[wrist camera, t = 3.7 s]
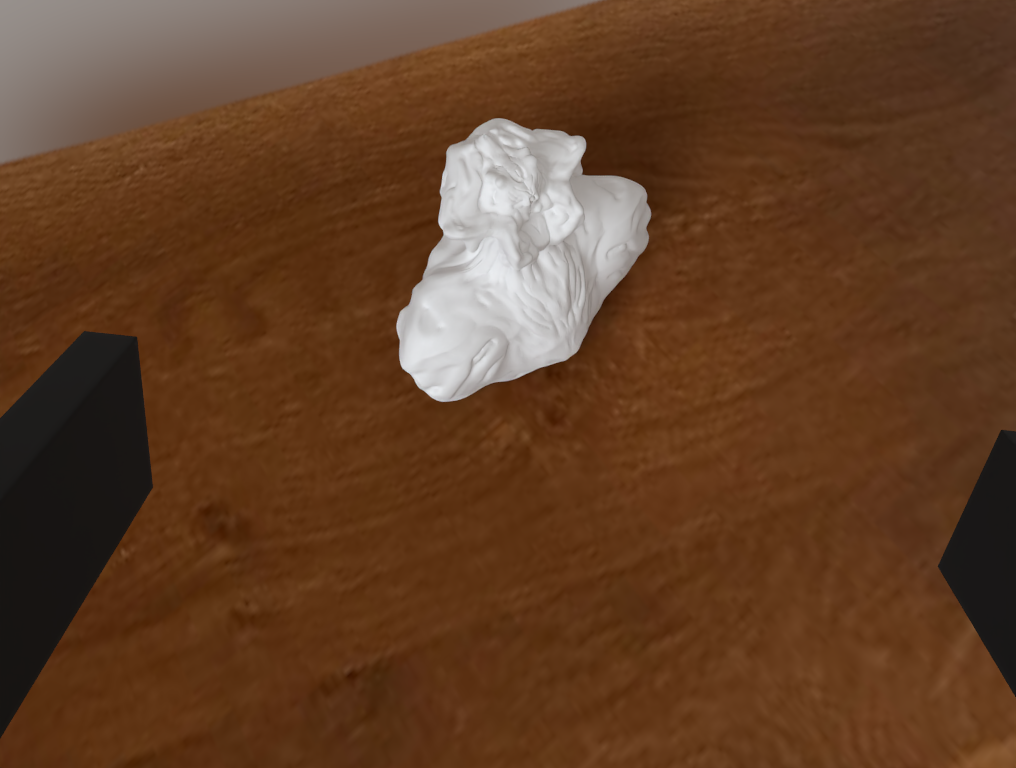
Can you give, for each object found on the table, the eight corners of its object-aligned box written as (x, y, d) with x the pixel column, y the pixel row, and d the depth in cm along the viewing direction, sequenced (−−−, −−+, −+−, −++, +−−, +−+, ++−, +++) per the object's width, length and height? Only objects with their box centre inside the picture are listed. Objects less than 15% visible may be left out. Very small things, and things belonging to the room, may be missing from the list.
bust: (605, 242, 42) (530, 14, 34) (721, 304, 36) (663, 50, 29) (400, 396, 39) (269, 186, 31) (492, 488, 34) (361, 261, 26)
